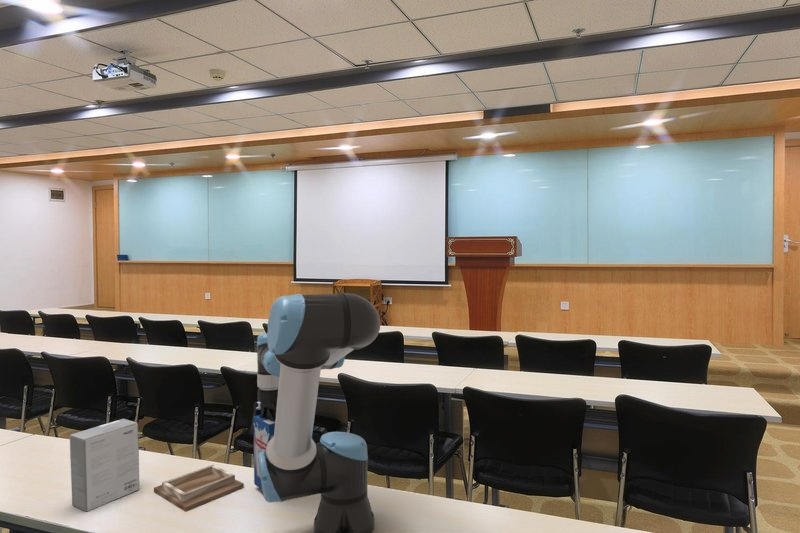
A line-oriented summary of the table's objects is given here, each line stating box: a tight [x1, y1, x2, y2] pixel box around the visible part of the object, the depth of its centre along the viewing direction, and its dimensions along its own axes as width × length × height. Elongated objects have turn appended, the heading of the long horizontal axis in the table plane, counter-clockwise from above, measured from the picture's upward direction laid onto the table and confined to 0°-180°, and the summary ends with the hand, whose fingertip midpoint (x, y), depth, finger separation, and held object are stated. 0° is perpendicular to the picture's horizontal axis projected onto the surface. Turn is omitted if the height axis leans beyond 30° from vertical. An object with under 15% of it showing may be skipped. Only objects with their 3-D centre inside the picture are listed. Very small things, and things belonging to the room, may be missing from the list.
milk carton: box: [253, 415, 276, 491], centre depth 147 cm, size 10×6×20 cm, turn 41°
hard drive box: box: [69, 418, 141, 513], centre depth 143 cm, size 16×8×20 cm, turn 149°
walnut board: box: [153, 464, 245, 512], centre depth 148 cm, size 18×18×3 cm
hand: (271, 463), depth 147 cm, fingers closed on milk carton, 10 cm apart
